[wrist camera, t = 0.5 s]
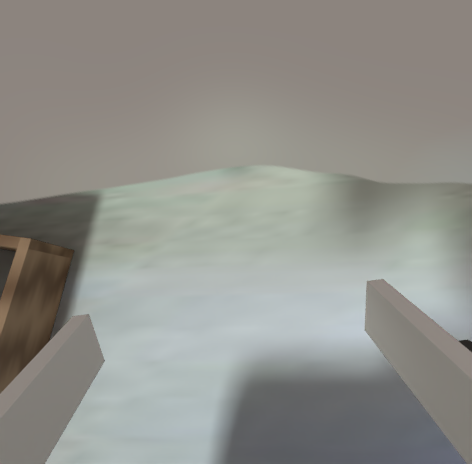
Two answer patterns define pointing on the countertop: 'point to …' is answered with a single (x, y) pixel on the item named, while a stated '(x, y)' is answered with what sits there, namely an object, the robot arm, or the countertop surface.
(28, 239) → the walnut u-shaped bracket
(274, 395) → the countertop surface
